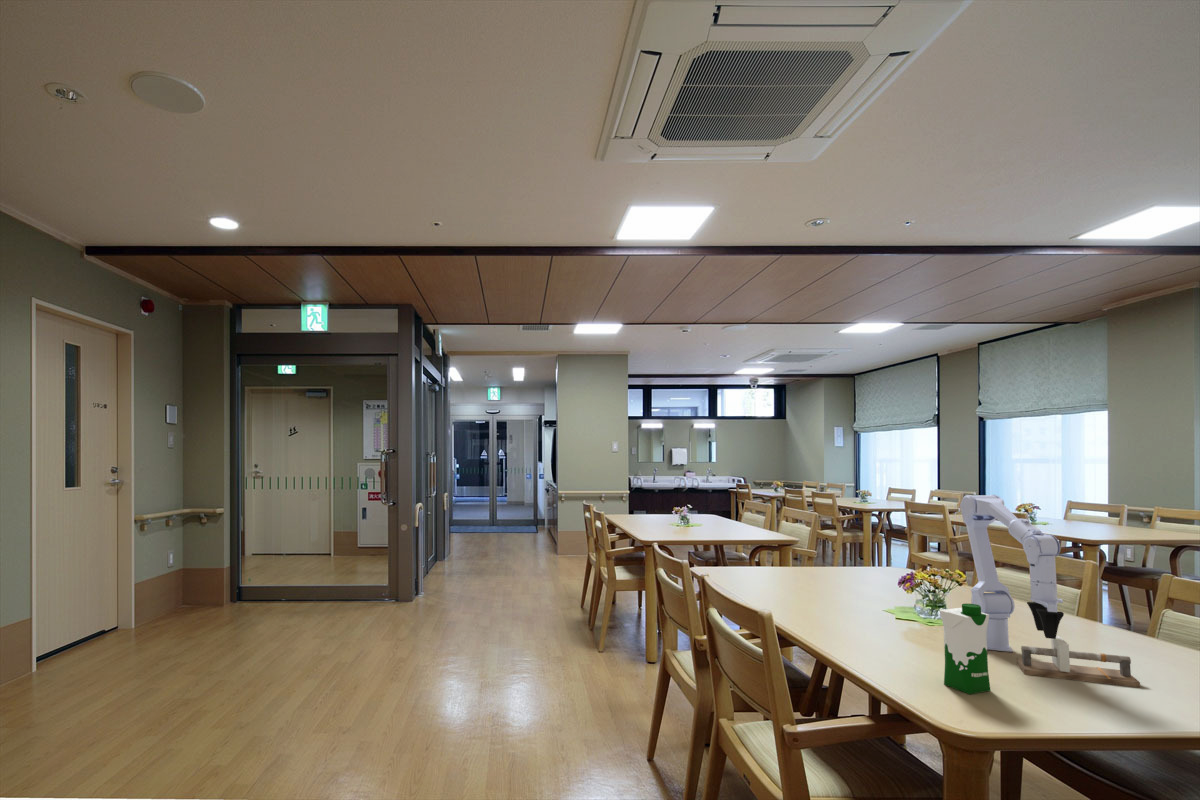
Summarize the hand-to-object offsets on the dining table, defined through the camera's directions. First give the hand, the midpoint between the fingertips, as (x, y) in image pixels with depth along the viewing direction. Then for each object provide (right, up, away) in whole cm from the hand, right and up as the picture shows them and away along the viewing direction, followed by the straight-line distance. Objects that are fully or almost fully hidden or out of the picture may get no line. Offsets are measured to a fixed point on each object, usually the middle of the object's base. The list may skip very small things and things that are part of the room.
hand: (1046, 634), depth 169 cm
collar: (+3, -8, -2) cm, 8 cm away
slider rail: (+5, -9, -3) cm, 11 cm away
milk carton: (-28, -9, -12) cm, 32 cm away
